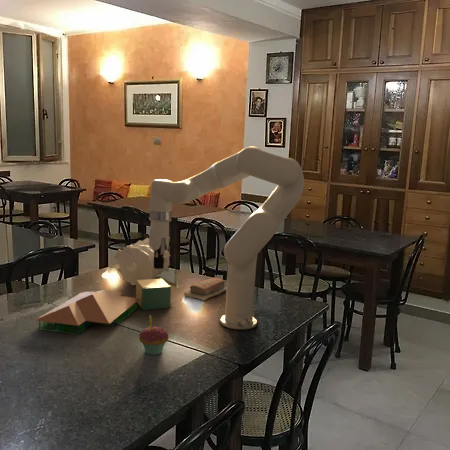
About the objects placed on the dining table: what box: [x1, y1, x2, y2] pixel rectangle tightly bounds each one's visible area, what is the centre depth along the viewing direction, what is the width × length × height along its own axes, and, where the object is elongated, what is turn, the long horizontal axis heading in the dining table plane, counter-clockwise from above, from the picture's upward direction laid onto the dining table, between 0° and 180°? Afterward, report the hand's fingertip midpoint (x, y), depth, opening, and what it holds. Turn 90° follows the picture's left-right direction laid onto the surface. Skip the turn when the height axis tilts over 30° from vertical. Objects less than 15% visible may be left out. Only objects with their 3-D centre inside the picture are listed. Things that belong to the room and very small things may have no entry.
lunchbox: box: [135, 277, 172, 311], centre depth 187 cm, size 11×10×8 cm
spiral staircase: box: [114, 237, 171, 286], centre depth 215 cm, size 18×18×25 cm
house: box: [35, 289, 140, 335], centre depth 171 cm, size 23×33×8 cm
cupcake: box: [138, 313, 170, 356], centre depth 146 cm, size 9×8×12 cm
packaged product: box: [183, 276, 227, 301], centre depth 203 cm, size 18×5×10 cm
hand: (158, 267), depth 174 cm, fingers closed
